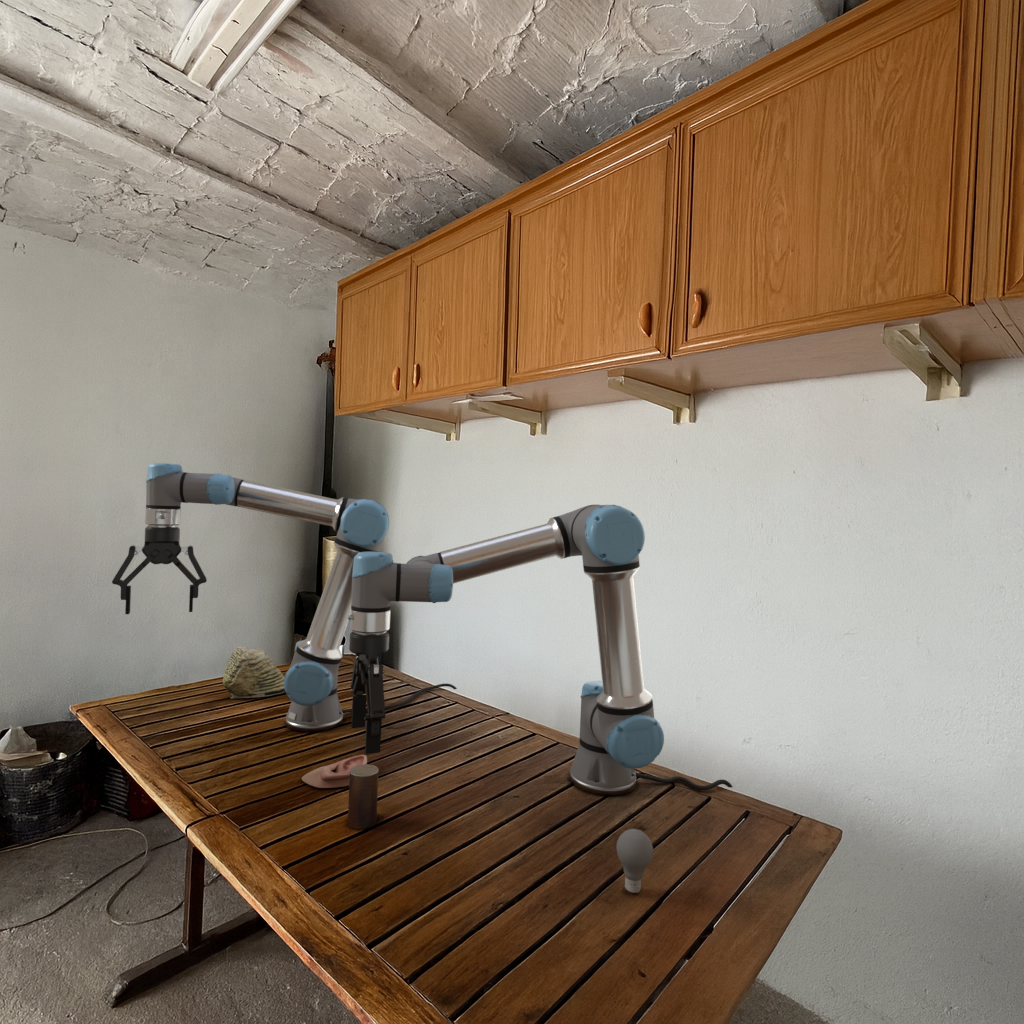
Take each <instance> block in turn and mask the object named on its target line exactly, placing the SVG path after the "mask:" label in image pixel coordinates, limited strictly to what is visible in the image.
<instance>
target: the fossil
mask: <svg viewBox="0 0 1024 1024" xmlns="http://www.w3.org/2000/svg"><path fill="white" fill-rule="evenodd" d="M222 676H223V677H222V685H223V687H224V688H225V690H226V691H228V693H229V698H230V699H250V698H264V697H271V696H275V695H281V694H284V693H285V688H284V678H285V675H284V674H283V673H282V672H281V669H279V668H278V667H277V665H276V663H275V662H274V660H273V659H272V658H271V657H270V656H269V655H268V654H267V653H266V652H265V650H264V649H263V648H260V647H258V648H251V647H247V646H246V647H245V646H238V647H237V648H236V649H235V650H233V651H232V653H231V656H230V657H229V659H228V660H227V663H226V666H225V668H224V671H223V675H222Z"/></svg>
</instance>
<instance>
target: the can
mask: <svg viewBox="0 0 1024 1024" xmlns="http://www.w3.org/2000/svg"><path fill="white" fill-rule="evenodd" d="M379 771H380V770H379V767H378V766H376V765H374V764H369V763H367V764H362V765H357V766H354V767H352V768H351V769H350V778H349V786H348V803H347V804H348V805H347V825H348V827H349V828H352V829H355V830H367V829H369V828H372V827H374V826H375V825H376V823H377V820H378V819H377V816H378V795H379V792H378V791H379V788H378V787H379Z"/></svg>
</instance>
